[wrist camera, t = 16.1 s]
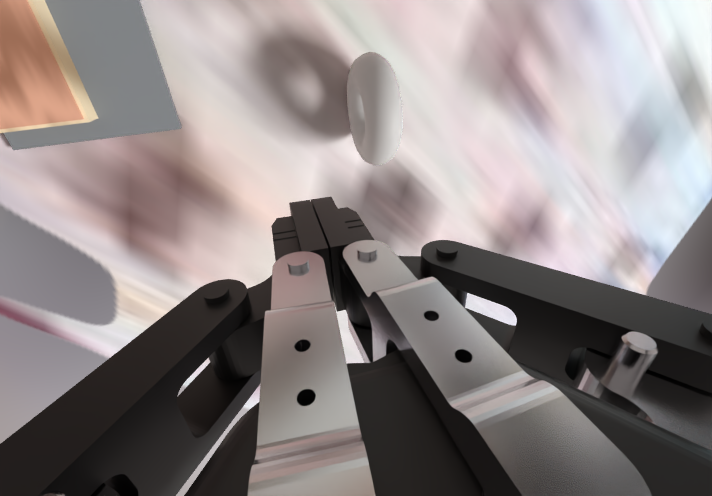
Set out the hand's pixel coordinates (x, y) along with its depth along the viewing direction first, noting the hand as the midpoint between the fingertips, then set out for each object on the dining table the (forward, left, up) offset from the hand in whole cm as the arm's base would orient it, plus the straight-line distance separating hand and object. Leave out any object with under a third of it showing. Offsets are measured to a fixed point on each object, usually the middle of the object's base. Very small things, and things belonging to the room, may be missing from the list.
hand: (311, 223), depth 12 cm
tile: (-6, -15, -25) cm, 30 cm away
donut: (0, +9, -27) cm, 28 cm away
